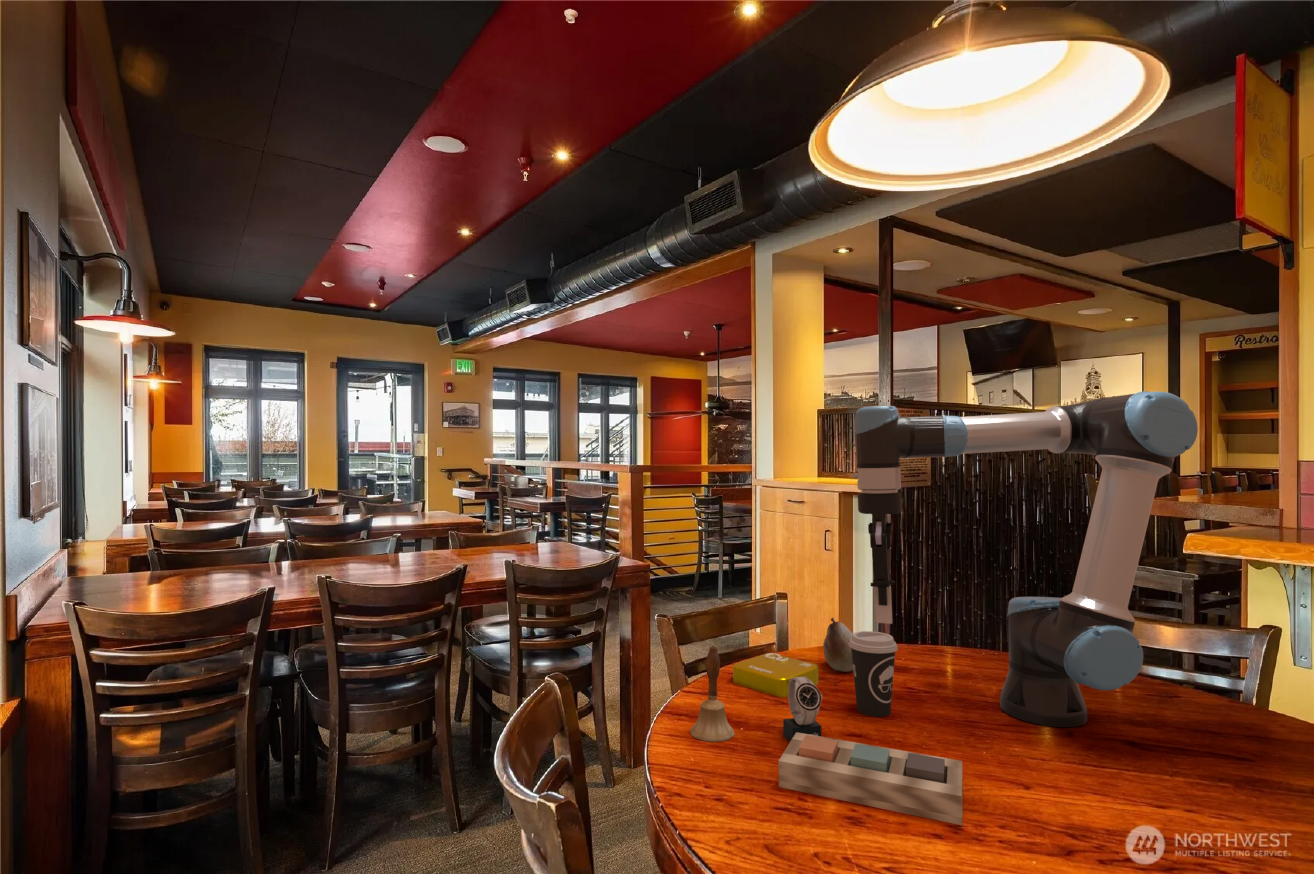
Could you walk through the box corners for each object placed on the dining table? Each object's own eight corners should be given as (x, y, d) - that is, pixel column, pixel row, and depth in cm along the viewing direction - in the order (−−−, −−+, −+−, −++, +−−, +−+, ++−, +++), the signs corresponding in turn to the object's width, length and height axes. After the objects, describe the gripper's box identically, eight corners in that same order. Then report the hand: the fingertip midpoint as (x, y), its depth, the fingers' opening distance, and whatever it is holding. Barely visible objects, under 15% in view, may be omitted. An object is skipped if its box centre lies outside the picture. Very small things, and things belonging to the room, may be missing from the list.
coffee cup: (891, 702, 139) (891, 630, 140) (904, 720, 130) (903, 643, 130) (845, 701, 140) (844, 629, 141) (854, 718, 131) (853, 641, 131)
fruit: (827, 660, 168) (826, 613, 169) (865, 665, 165) (865, 616, 165) (820, 672, 159) (819, 622, 159) (861, 677, 155) (860, 626, 156)
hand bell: (735, 725, 128) (734, 641, 128) (733, 743, 119) (733, 654, 120) (692, 722, 129) (692, 639, 129) (687, 740, 121) (687, 652, 121)
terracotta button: (838, 765, 108) (837, 740, 108) (832, 779, 103) (832, 753, 104) (806, 759, 110) (805, 734, 111) (799, 772, 106) (798, 747, 106)
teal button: (889, 775, 105) (889, 749, 105) (886, 789, 100) (886, 763, 100) (855, 768, 107) (855, 743, 107) (850, 782, 102) (850, 756, 102)
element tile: (729, 683, 153) (729, 662, 153) (768, 669, 163) (768, 649, 163) (783, 700, 142) (783, 677, 142) (822, 684, 152) (821, 662, 152)
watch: (797, 750, 116) (796, 687, 117) (779, 732, 124) (779, 672, 125) (826, 747, 118) (826, 684, 118) (807, 729, 125) (807, 670, 126)
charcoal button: (945, 785, 101) (944, 759, 102) (944, 801, 97) (943, 773, 97) (908, 778, 104) (908, 752, 104) (906, 793, 99) (905, 766, 99)
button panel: (962, 786, 104) (962, 760, 104) (962, 825, 93) (961, 796, 93) (796, 755, 114) (796, 732, 115) (778, 786, 104) (778, 760, 104)
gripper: (861, 489, 128) (865, 612, 127) (853, 493, 116) (858, 629, 115) (902, 489, 125) (907, 615, 125) (899, 493, 113) (904, 632, 113)
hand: (884, 621), depth 120 cm, fingers closed
